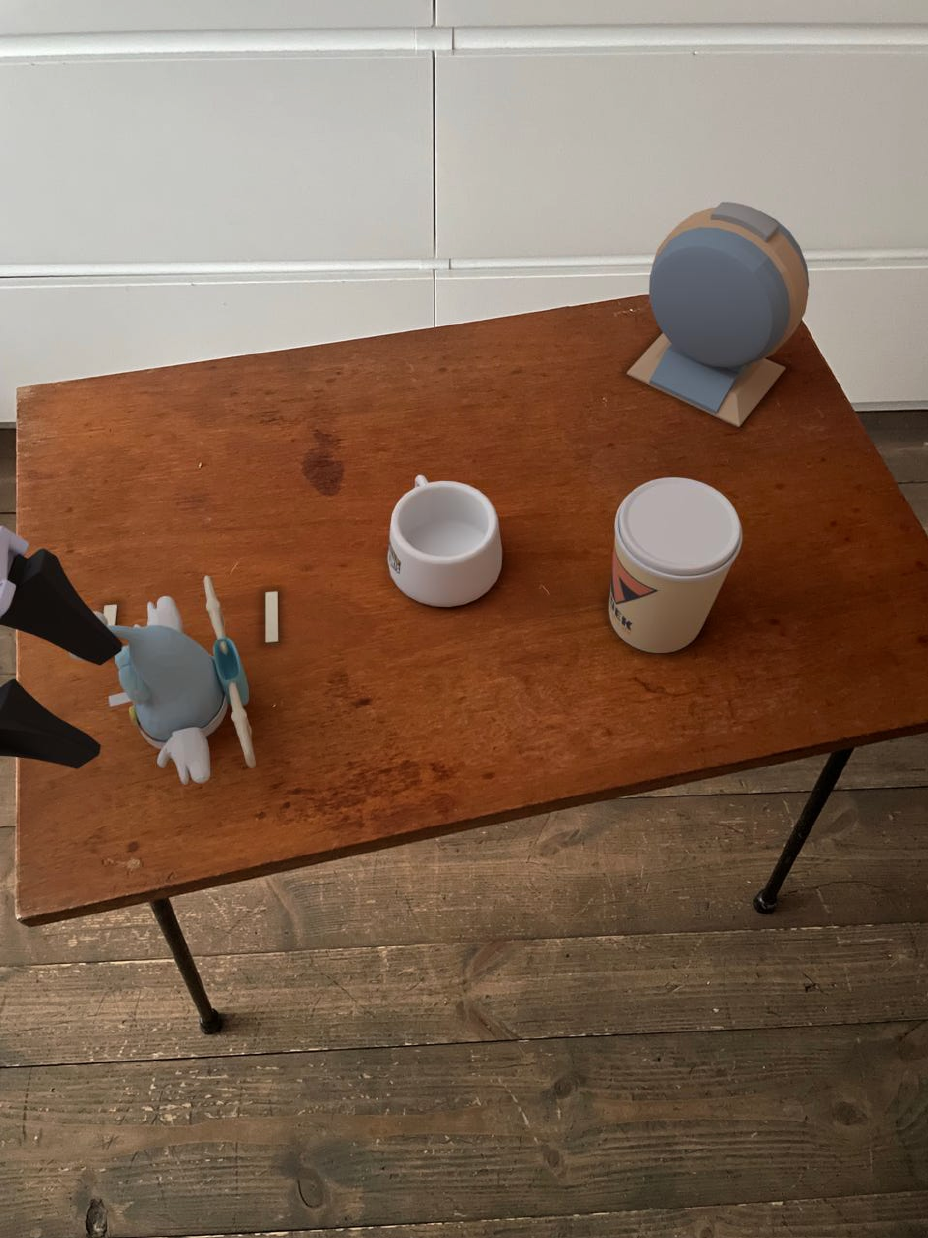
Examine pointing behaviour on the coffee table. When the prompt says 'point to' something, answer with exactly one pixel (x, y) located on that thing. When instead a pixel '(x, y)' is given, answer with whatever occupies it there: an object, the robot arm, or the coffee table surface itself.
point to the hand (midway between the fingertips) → (101, 703)
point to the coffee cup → (670, 561)
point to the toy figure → (181, 686)
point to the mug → (444, 543)
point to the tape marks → (270, 616)
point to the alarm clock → (723, 309)
